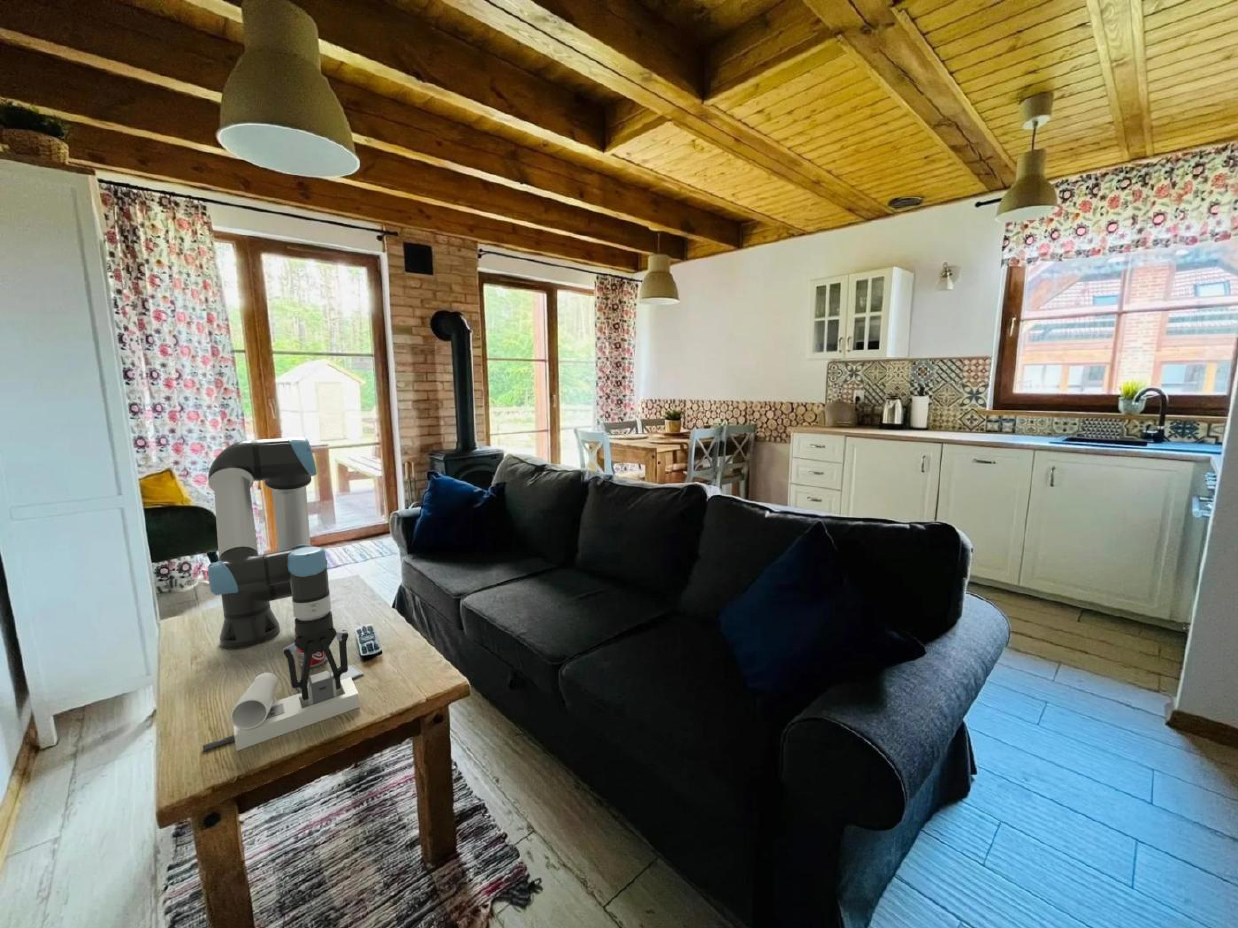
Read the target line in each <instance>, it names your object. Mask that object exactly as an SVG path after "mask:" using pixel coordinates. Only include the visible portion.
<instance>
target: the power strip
mask: <svg viewBox="0 0 1238 928" xmlns="http://www.w3.org/2000/svg"><path fill="white" fill-rule="evenodd" d="M340 682H341V688H340V689H337V690H336V693H337V697H335V698H332V699H329V700H326V701H323V702H320V703H317V704H314V705H311V706H309V703H308V699H307V700H303V698H302V693H299V692H298V693H297V694H293V695H290V696H288V697H283V698H281V699H279V700H276V701H274V700H273V703H272V707H271V709H270V711H269V713H268V715H267V717H266V719H265V720H264V721H263V723H261V724H260V725H259V726H257V727H255V728H252V729H240V728H238V727H236V726H235V725H234V724H233V734H232V735H228V736H226V737H224V738H223V737H222V738H220V739H217V740H214V741H211V742H208V743H205V744H203V745H202V748H203V749H202V751H203V752H205V751H209V750H212V749H213V748H214V749H215V748H217V747H220V746H223V745H226V744H229V743H231V742H233V741H234V745H235V751H236V752H238V751H240V750H243V749H246V748H249V747H252V746H254V745H257V744H260V743H263V742H266V741H268V740H271V739H274V738H276V737H279V736H282V735H283V736H284V735H285V734H288V733H290V732H291V733H292V732H293V731H296V730H299V729H303V728H304V727H307V726H310V725H313V724H316V723H319V722H321V721H324V720H327V719H330V718H332V717H336V716H338V715H341V714H344V713H347V712H349V711H353V710H356V709H358V708H360V707H361V706H360V704H361V703H360V697H359V692H358V690H357V687H356V685H355V683H354V681H353V680H352V678H351V677H349V678H346V679H343V680H340Z"/></svg>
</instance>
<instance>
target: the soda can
mask: <svg viewBox="0 0 1238 928" xmlns="http://www.w3.org/2000/svg"><path fill="white" fill-rule="evenodd" d="M294 636H295V637H294V639H295V638H296V628H295V627H294ZM296 653H297V659H298V660H297V662H298V665H299V666H300V667H301V668H302V666H303V659H304V652H303V651H302V650H301V649H299V648H298V647H296ZM326 661H328V659H327V657H326V654H325V652H324V651H323V652H317V653H315V654H312V659H311V665H310V669H312V668H313V669H314V668H317V667H319V666H321V665H323V664H325V662H326Z"/></svg>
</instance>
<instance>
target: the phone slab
mask: <svg viewBox="0 0 1238 928" xmlns="http://www.w3.org/2000/svg"><path fill="white" fill-rule="evenodd" d="M330 674H331V675H332V674H333V672H330ZM340 676H341V677H340V680H343V679H346V678H349V677H351V678H352V681H353V680H355V679H358V678H361V677H363V676H364V672H363V671H361V670H360V669H359V668H358V667H357V666H355V665H354V664H353V663H351V664H348V671H347V672H346V673H342V674H341V675H340ZM308 682H310V681H309V680H308ZM295 690H296V691H297V692H298V694H299V693H302V692H301V688H299V687H298V688H295Z"/></svg>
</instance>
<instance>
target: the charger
mask: <svg viewBox="0 0 1238 928" xmlns="http://www.w3.org/2000/svg"><path fill="white" fill-rule="evenodd" d="M330 673H331V672H330V670H325V671H322V672H318V673H315V674H311V675H309V678H308V682H309V681H310V684H311V688H312V697H313V705H314V704H317V703H320V702H323V701H326V700H329V699H332V698H334V692H333V683H332V677H331V674H330Z"/></svg>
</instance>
